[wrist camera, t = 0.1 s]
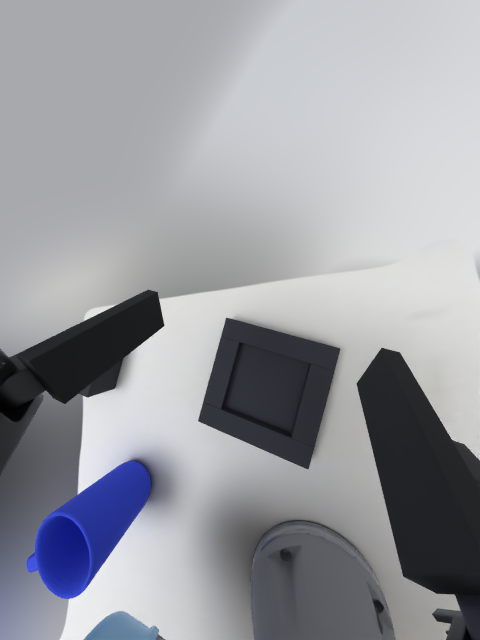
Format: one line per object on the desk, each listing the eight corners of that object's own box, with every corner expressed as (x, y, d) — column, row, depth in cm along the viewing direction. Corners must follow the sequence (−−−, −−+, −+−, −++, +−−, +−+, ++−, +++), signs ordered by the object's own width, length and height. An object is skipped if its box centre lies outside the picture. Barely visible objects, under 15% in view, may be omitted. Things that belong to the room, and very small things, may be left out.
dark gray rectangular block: (114, 388, 31) (87, 397, 26) (85, 375, 32) (55, 382, 28) (125, 349, 31) (99, 352, 27) (95, 338, 33) (67, 339, 28)
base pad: (305, 457, 23) (308, 470, 21) (204, 414, 27) (197, 421, 25) (334, 347, 23) (340, 348, 21) (230, 319, 27) (226, 317, 25)
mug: (92, 474, 31) (4, 540, 21) (144, 444, 29) (74, 501, 19) (110, 524, 29) (24, 620, 19) (166, 496, 27) (103, 586, 17)
